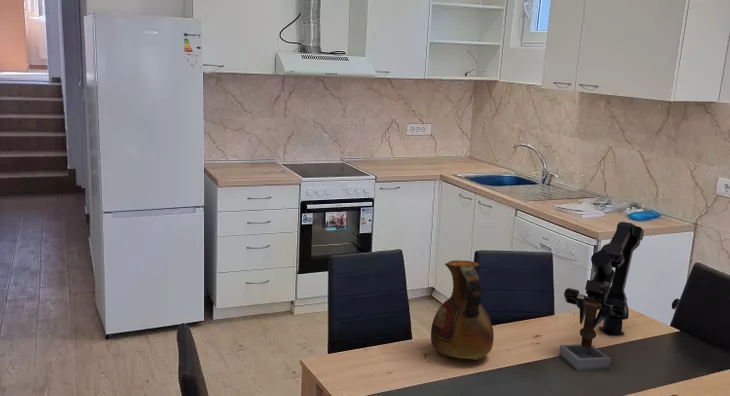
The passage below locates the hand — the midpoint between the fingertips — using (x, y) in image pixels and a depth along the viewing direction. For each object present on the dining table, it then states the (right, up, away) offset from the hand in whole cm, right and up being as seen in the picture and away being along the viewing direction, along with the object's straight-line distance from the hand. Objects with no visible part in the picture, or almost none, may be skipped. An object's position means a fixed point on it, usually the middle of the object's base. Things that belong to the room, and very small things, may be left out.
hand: (587, 325), depth 203 cm
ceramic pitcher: (-39, -10, +4) cm, 40 cm away
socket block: (0, -12, +3) cm, 13 cm away
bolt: (0, -7, +3) cm, 8 cm away
